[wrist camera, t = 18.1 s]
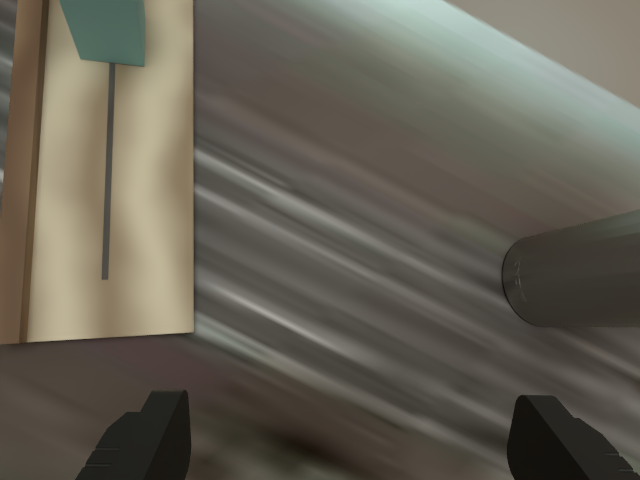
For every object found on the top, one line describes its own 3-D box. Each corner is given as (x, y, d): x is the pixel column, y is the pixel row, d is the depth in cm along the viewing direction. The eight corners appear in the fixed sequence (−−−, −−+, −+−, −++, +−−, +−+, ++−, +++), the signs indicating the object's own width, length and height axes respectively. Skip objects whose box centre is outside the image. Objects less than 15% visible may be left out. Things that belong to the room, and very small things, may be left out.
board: (192, -13, 38) (193, -44, 35) (192, 331, 33) (194, 332, 29) (36, -41, 34) (21, -80, 31) (8, 343, 29) (-14, 345, 26)
